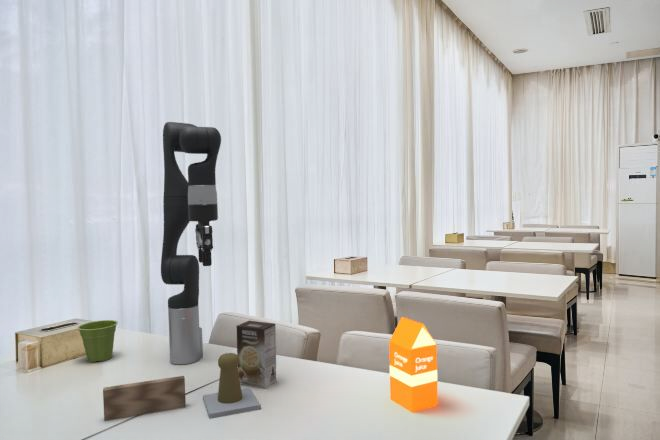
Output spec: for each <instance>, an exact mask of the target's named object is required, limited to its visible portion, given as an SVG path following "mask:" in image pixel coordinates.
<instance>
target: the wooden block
mask: <svg viewBox="0 0 660 440" xmlns="http://www.w3.org/2000/svg"><path fill="white" fill-rule="evenodd" d="M102 398H103V421H110V420H116V419H117V420H118V419H122V418H128V417H129V418H130V417H134V416H139V415H144V414H145V415H146V414H152V413H157V412H163V411H168V410H169V411H170V410H174V409H180V408H181V409H182V408H186V407H187V402H186V379H185V375H179V376H173V377H172V376H171V377H166V378H165V377H164V378H160V379H153V380H147V381H139V382H132V383H125V384H118V385H112V386H105V387H103V388H102Z"/></svg>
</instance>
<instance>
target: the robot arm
mask: <svg viewBox="0 0 660 440" xmlns="http://www.w3.org/2000/svg"><path fill="white" fill-rule="evenodd" d="M221 144H222V136H221V133H220V131H219V130H218V129H217V128H216V127H212V126H197V125H196V124H194V123H193V124H192V123H188V122H187V123H186V122H176V121H167V122H165V123H164V125H163V129H162V150H163V171H164V172H163V173H164V175H163V176H164V177H163V179H164V180H163V201H162V203H163V205H162V206H163V207H162V209H163V212H162V213H163V238H162V248H161V249H162V251H161V259H160V277H161V280H162V283H164V284H165V285H168V286H169V285H175V286H176V285H181V286H182V285H183V290H182V291H181V292H180V293H177V294H174V295H172V296H170V297H168V299H167V313H168V314H167V315H168V318H167V319H168V338H169V339H168V342H169V345H168V346H169V362H170V363H171V364H172V365H188V364H193V363H196V362H198V361H200V360H201V359H202V358H204V349H203V348H204V345H203V328H202V327H201V326H200V311H199V309H200V308H199V299H200V298H199V297H200V263H201V264H202V266H203V267H211V266H212V250H213V249H214V246H213V245H214V244H213V241H214V239H213V225H210V224H211V223H210V222H214V221H218V219H219V215H218V214H219V213H218V212H219V209H218V191H217V185H216V184H217V181H216V168H217V167H216V166H217V161H218V157H219V152H220V150H221V149H220V148H221V146H222V145H221ZM175 152H177V153H185V154H190V155H192V154H193V155H194V154H195V155H198V154H200V155H206V158H205V160H203V161H198V162H193V163H190V164H189V165H188V166H187V179H186V177H185V175H184V173H183V172H182V170H181V168H180V166H179V165H178V163H177V159H176V156H175ZM190 222H197V223H196V224H195V231H194V232H195V241H196V243H195V244H196V247H197V250H198V258H197V256H196V255H193V254H178V253H177V252H178V244H179V241H180V239H181V236H182V234H183V233H184V231H185V229H186V228H187V226H189V224H190Z"/></svg>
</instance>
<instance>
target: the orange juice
mask: <svg viewBox="0 0 660 440" xmlns="http://www.w3.org/2000/svg"><path fill="white" fill-rule="evenodd" d="M429 332H430V331H428V329H427V327H426V326H425V324H424V323H422V322H419V321H415V320H412V319H409V318H407V317H403V316H401V318H400V319H399V322H398V324H397V326H396V327H395V330H394V332H393V334H392V336H391V337H390V339H389V341H388V346H389V347H388V349H389V350H388V351H389V353H388V354H389V385H390V386H389V389H390V390H389V391H390V396H389V397H390V401H392V402H394V403H396V404H398V406H400V405H401V407H402V408H404V409H405V410H407V411H409V412H410V413H417V412H419V411H422V410H427V409H430V408H434V407H437V406H438V401H439V400H438V398H439V397H438V356H437V355H438V353H437V352H438V351H437V349H438V348H437V347H438V346H437V345H438V344H437V343H436V341H435V339H434V338H433V336H432V335H431V334H430V333H429Z"/></svg>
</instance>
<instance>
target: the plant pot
mask: <svg viewBox="0 0 660 440" xmlns="http://www.w3.org/2000/svg"><path fill="white" fill-rule="evenodd" d="M118 323H119V322H118V321H117V320H112V319H105V320H95V321H89V322H85V323H83V324H80V325H78V326H77V327H76V328H77V330H78V331H79V334H80V337H81V339H82V343H83V347H84V351H85V355H86V359H87V361H88V362H91V363H96V362H104V361H108V360H110V359H112V357H113V351H114V342H115V333H116V330H117V329H116V328H117V325H118Z"/></svg>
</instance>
